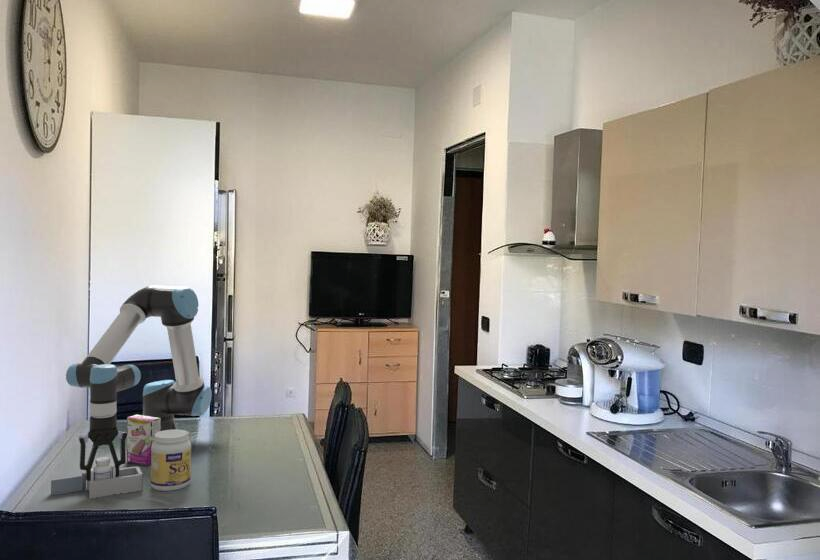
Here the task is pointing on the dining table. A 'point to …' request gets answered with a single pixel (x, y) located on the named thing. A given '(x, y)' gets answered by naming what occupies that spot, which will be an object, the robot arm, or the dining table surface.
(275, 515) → the dining table surface
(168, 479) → the supplement tub
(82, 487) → the cover flap
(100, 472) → the pill bottle
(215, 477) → the dining table surface
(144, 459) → the candy bar box
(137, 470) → the open rectangular tray
